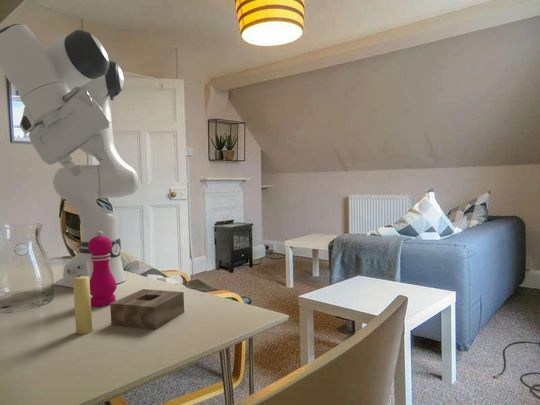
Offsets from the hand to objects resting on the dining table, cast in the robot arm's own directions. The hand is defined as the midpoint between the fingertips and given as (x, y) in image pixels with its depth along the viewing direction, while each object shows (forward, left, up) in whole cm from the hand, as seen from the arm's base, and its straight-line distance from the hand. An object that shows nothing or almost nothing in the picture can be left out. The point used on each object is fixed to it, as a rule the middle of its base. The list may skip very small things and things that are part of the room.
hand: (90, 167), depth 81 cm
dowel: (-6, +2, -36) cm, 36 cm away
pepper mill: (-17, +20, -36) cm, 44 cm away
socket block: (+3, +13, -36) cm, 38 cm away
